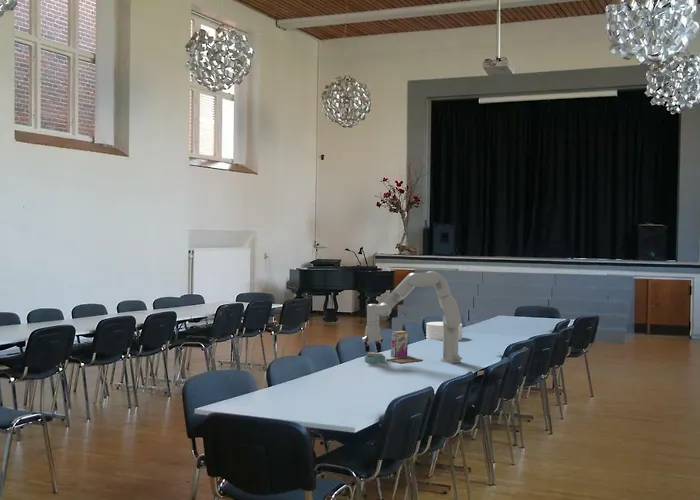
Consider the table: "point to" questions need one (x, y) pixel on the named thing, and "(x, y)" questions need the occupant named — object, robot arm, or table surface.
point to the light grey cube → (377, 355)
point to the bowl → (374, 359)
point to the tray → (404, 360)
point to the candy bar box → (399, 343)
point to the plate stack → (438, 331)
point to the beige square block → (370, 354)
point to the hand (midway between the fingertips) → (373, 350)
